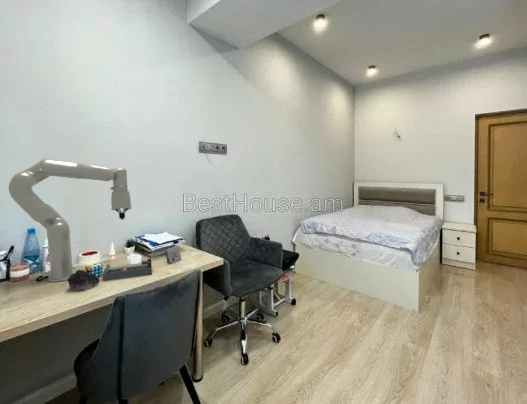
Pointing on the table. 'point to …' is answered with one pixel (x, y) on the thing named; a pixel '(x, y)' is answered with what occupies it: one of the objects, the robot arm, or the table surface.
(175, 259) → the electrical switch
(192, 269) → the table surface
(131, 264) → the thin grey rod
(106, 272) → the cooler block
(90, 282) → the crystal cluster
